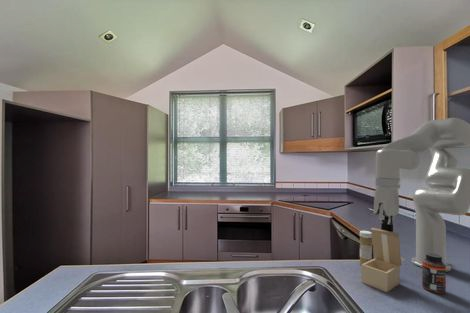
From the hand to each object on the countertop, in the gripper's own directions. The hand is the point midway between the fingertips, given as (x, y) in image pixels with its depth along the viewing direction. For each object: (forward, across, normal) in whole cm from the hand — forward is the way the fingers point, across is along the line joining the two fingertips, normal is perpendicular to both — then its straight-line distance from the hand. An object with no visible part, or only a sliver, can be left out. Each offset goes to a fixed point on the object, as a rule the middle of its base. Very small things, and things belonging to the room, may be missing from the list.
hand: (387, 234), depth 86 cm
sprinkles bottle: (+16, -6, -10) cm, 19 cm away
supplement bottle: (+16, -5, +12) cm, 20 cm away
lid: (+4, +2, 0) cm, 4 cm away
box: (+16, +5, 0) cm, 16 cm away
